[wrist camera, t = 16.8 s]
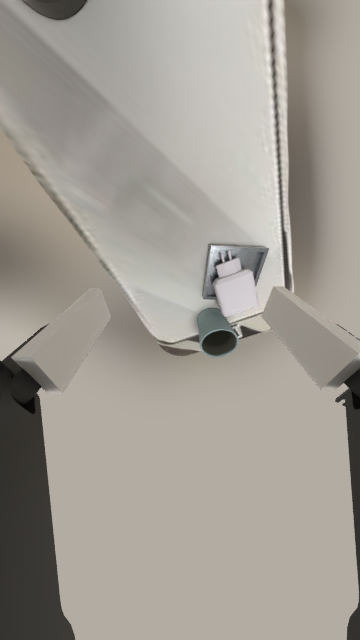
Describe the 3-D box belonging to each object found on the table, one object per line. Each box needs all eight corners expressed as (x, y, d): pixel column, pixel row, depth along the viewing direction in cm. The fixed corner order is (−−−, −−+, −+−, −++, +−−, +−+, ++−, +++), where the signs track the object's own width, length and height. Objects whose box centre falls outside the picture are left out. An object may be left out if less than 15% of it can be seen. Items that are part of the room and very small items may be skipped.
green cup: (198, 304, 46) (203, 328, 36) (230, 306, 46) (244, 330, 36) (193, 330, 51) (197, 356, 41) (222, 332, 52) (232, 358, 42)
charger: (240, 245, 37) (252, 300, 42) (204, 259, 38) (220, 311, 43) (248, 243, 32) (260, 305, 37) (207, 260, 34) (224, 317, 39)
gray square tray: (209, 244, 36) (211, 245, 34) (263, 246, 37) (269, 248, 35) (202, 295, 44) (203, 299, 42) (247, 296, 44) (250, 300, 42)
